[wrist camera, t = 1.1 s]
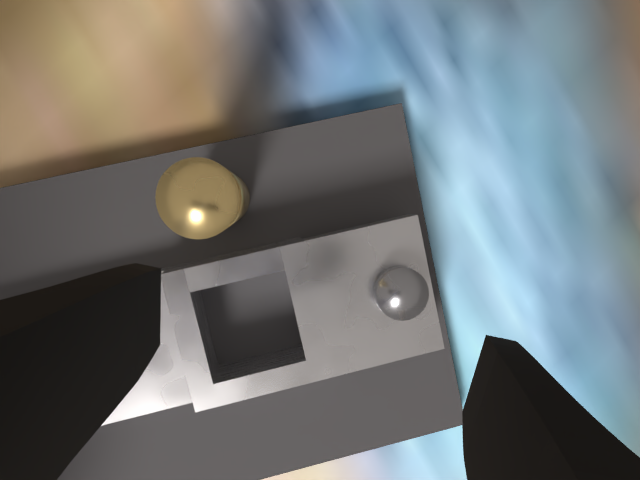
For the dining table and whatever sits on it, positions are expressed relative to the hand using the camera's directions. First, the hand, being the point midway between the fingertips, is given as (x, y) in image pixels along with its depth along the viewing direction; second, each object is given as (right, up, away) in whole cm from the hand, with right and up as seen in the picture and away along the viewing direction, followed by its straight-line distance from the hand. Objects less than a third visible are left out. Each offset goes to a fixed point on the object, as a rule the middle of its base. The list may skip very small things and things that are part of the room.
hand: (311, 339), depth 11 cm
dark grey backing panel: (-5, -2, +13) cm, 14 cm away
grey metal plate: (-4, -2, +12) cm, 13 cm away
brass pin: (-4, +4, +12) cm, 13 cm away
